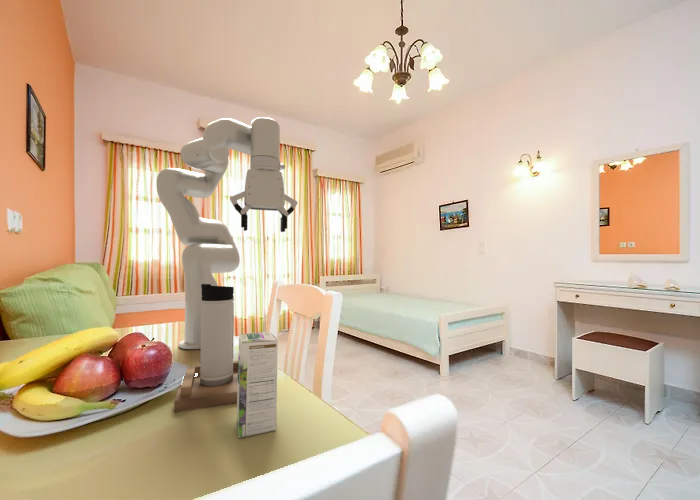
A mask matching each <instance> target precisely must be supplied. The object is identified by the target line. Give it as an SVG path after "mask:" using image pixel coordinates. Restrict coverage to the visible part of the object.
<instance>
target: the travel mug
mask: <svg viewBox="0 0 700 500" xmlns="http://www.w3.org/2000/svg"><path fill="white" fill-rule="evenodd" d="M201 288H202V297H201V302H202V303H201V349H200V354H199V355H200V361H199V362H200V363H199V365H200V374H201V375H200V383H201V384H202V385H204V386H219V385H223V384H226V383H228V382H230V381H231V380H232V379H233V361H234V336H235V335H234V332H235V331H234V325H235V324H234V321H235V319H234V317H235V316H234V314H235V310H234V309H235V308H234V306H235V302H234V300H235V297H234V293H235V291H234V288H235V287H234V286H222V285H218V286H211V284H201Z"/></svg>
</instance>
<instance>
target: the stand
mask: <svg viewBox="0 0 700 500" xmlns="http://www.w3.org/2000/svg"><path fill="white" fill-rule="evenodd" d="M195 373H198V376H197V377H194V376H195ZM184 374H185V376H184V379H183V383H182V385H180V384H179V385H180V386H178V389H177V392H176V394H175V399H174V403H173V404H174V406H173V407H174V408H173V409H174V410H173V411H174V413H179V412H185V411H186V412H187V411H193V410H197V409H198V410H199V409H205V408H212V407H219V406H224V405H231V404H237V384H238V360H233V379H232V380H231V381H230V382H228V383H226V384H223V385H219V386H204V385H202V384H201V383H200V375H201V374H200V364H195V365H193V366H191V365H190V366H186V370H185V373H184Z"/></svg>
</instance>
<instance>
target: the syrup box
mask: <svg viewBox="0 0 700 500" xmlns="http://www.w3.org/2000/svg"><path fill="white" fill-rule="evenodd" d="M278 346H279V345H278V338H277V337H276V336H275V335H274V333H272V332H250V333H244V334H239V336H238V360H237V361H238V384H237V403H236V427H237V433H238V435H237V436H238V438H246V437H250V436H255V435H261V434H265V433H269V432H275V431H276V430H277V404H278V403H277V399H278V398H277V397H278V396H277V395H278V392H277V391H278V390H277V389H278Z"/></svg>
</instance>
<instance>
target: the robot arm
mask: <svg viewBox="0 0 700 500" xmlns="http://www.w3.org/2000/svg"><path fill="white" fill-rule="evenodd" d="M280 132H281V128H280V124H279V122H278V121H276V120H275V119H273V118H271V117H265V116H264V117H263V116H262V117H256V118H254V119H252V121H251V122H250V125H248V124H245V123H243V122H241V121H238V120H236V119H233V118H228V117H225V118H224V117H223V118H220V119H217V120H214V121H212V122H210V123H208V124H207V126H206V127H205V128H204V130H203V133H202V137H201V138H198V139H195V140H193V141H190V142H187V143H186V144H184V145H183V146H182V147H181V149H180V151H179V152H180V158H181V160H182V162H183V163H184V164H185V165H186V166H187V167H190V168H192V169H196V170H199V171H204V172H203V173H199V172H194V171H190V170H187V169H182V168H175V167H173V168H172V167H168V168H165V169H162V170H161V171H159V173H158V174H157V177H156V193H157V196H158V198H159V200H160V202H161V204H162V205H163V207H164V208H165V210H166V211H167V213H168V215H169V217H170V220H171V222H172V224H173V227H174V230H175V233H176V236H177V238H178V240H179V241H180V243H182V245H184V246H186V247H185V248H184V249H183V251H182V253H181V263H182V267H183V273H184V290H185V291H184V292H185V293H184V296H185V297H184V298H185V299H184V339H182V340H180V341H179V342H178V347H179V348H180V349H183V350H184V349H185V350H201V303H202V302H201V297H202V288H201V284H211V286H219V285H218V283H217V281H216V279H215V277H214V275H213V274H223V273H232V272H234V271H236V270H237V268H238V267H239V266H240V265H239V264H240V254H239V253H240V252H239V249H238V247H237V246H236V243H235V242H234V239H233V237H232V234H231V233H230V230H229V228H228V227H227V225H226V224H225V223H224V222H222V221H220V220H217V219H210V218H204V217H202V216H201V215H200V214H199V211H198V208H197V207H196V206H195V204H194V203H193V202H192V201H191V200H190V199H188V198H187V197H192V198H193V197H194V198H200V199H206V198H210V196H212V195H213V193H214V192H215V190H216V188H217V187H218V186H219V183H220V181H221V180H222V179H223V177H224V175H225V173H226V171H227V169H228V165H229V156H230V150H233V151H235V152H240V153H243V154H246V155H248V156H250V160H249V161H250V163H249V165H250V166H249V167H250V168H249V169H248V170H247V171H246V175H245V182H244V191H242V192H239V193H237V194H234V195H232V196H230V197H229V198H230V199H229V201H230V202H231V204H232V206H233V209H234V210H236V211H237V213H239V215H240V217H241V218H240V223H241V224H240V227H241V228H243V231H245V232H246V231H248V218H249V217H248V215H249V214H247V212H249V210H252V211H253V210H254V211H255V210H256V211H270V212H271V211H273V212H274V211H275V212H276V211H278V213H280V216H281V217H280V233H284V232H286V230H287V229H288V217H289V215H291V214H292V213H293V212H294V211H295V209H296V208H297V205H298V201H297V200H296V199H294V198H292V197H290V195H287V194H286V193H285V185H284V184H285V183H284V178H283V173H282V172H281V171H282V170H285V169H286V165H285V164H283V163H282V162H281V160H280V154H281V153H280V151H281V149H280V147H281V145H280V143H281V141H280V137H281V136H280V135H281V133H280ZM243 198H244V207H242V206H241V205H240V204H239V203H238V200H241V199H243ZM286 202H287V203H288V204H290V206H289V208H288V209H285V203H286Z"/></svg>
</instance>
